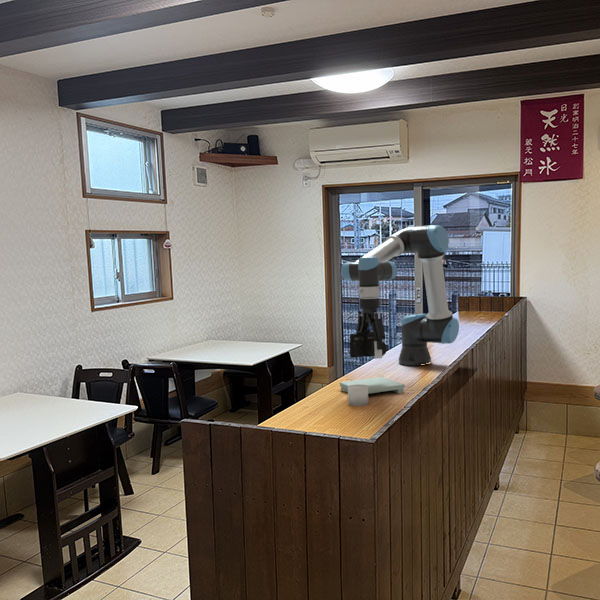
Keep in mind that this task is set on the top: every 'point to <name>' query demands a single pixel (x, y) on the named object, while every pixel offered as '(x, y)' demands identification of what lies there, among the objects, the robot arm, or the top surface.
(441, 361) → the top surface
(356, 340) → the camera
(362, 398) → the grey rounded block
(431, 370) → the top surface
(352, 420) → the top surface
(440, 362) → the top surface
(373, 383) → the stand
